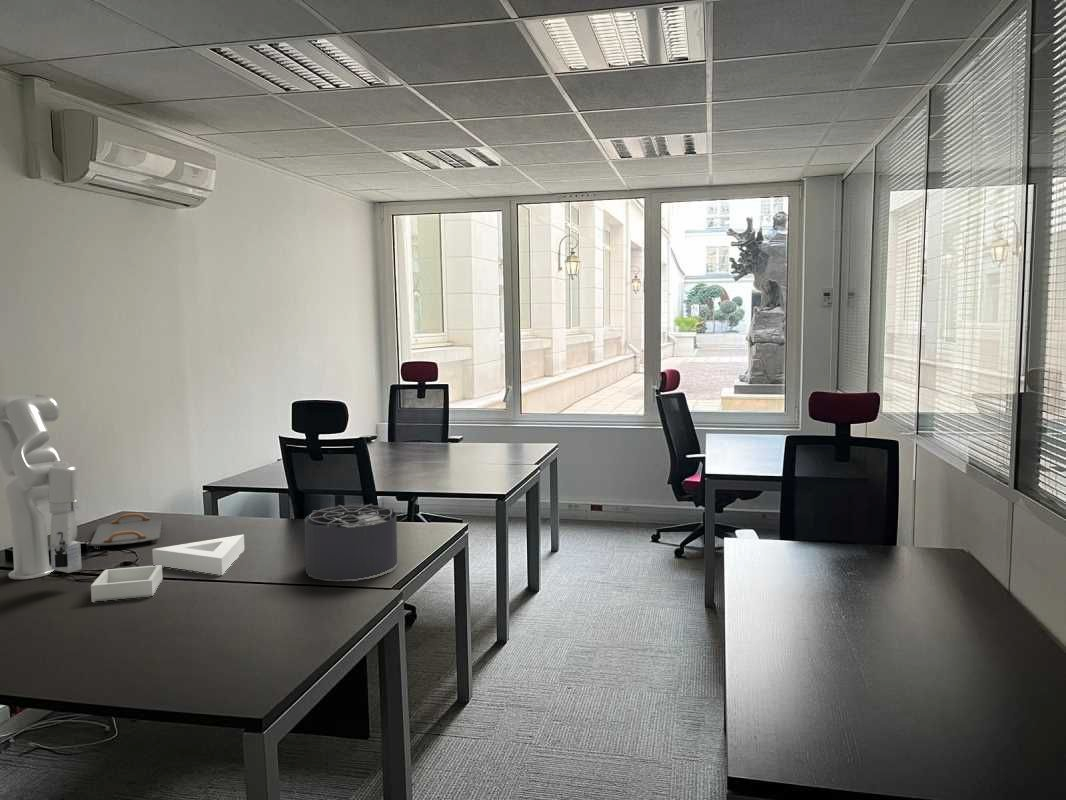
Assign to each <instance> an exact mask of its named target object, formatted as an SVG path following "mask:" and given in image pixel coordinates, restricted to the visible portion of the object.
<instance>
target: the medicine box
mask: <svg viewBox="0 0 1066 800" xmlns="http://www.w3.org/2000/svg"><path fill="white" fill-rule="evenodd" d="M61 544H65V543H61ZM62 548H63V549H64V547H62ZM54 549H55V547H54V546H51V544H50V562H51V563H50V565H51V567H52V569H54V570H55V571H59V572H63V573H66V574H69V573H73V572H77V571H79V570H81V569H82V567H83V566H82V555H81V554H82V553H81V551H82V550H81V542H80V541H77V540H76V541H72V542H71V543H70V544H69V545H67V546H66V549H67V550H66V553H67V556H68V566H67V567H55V550H54Z"/></svg>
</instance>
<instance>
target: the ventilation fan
mask: <svg viewBox="0 0 1066 800" xmlns="http://www.w3.org/2000/svg"><path fill="white" fill-rule="evenodd" d="M397 522H398V521H397V512H395V511H394V508H393V507H386V506H380V505H374V504H373V503H370V504H350V505H341V504H338V505H337V506H331V507H326V508H323V509H319V510H312V511H311V513H310V514H308V515H307V516H306V517H305V518H304V543H305V544H304V545H305V571H307V573H308V574H310V575H312V576H314V577H317V578H321V579H331V580H343V579H345V580H346V579H358V578H364V577H369V576H373V575H377V574H380V573H382V572H385V571H387V570H389V569H391V568H393V567H394V566H395V565H396V564H397V562H398V538H397V537H398V534H397V532H398V531H397V530H398V529H397V526H398V525H397Z"/></svg>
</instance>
